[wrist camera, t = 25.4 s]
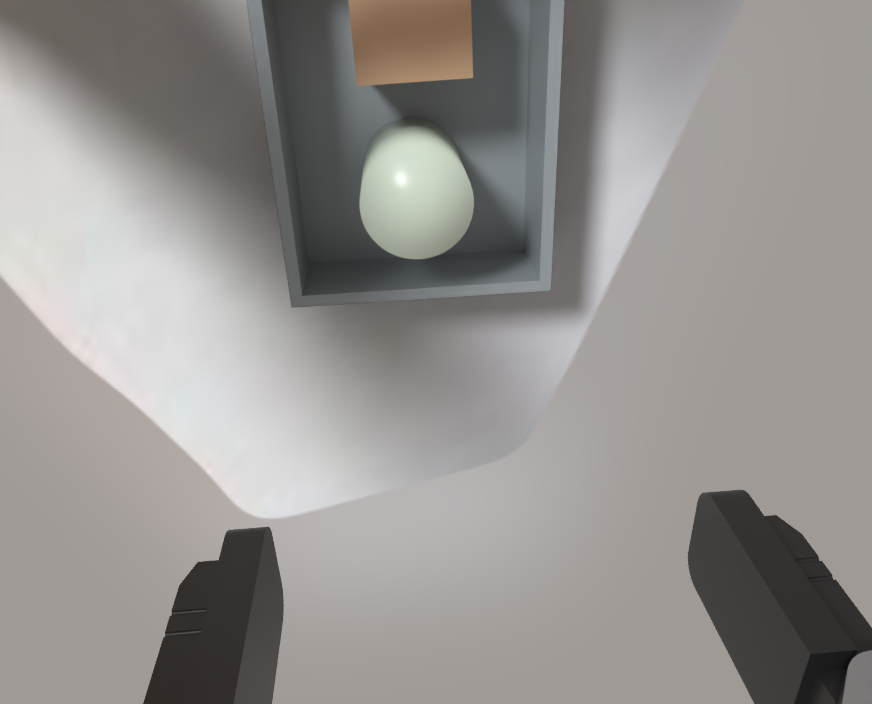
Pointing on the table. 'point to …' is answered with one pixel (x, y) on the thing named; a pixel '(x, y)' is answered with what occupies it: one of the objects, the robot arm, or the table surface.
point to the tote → (431, 100)
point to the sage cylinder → (414, 190)
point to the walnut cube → (411, 40)
